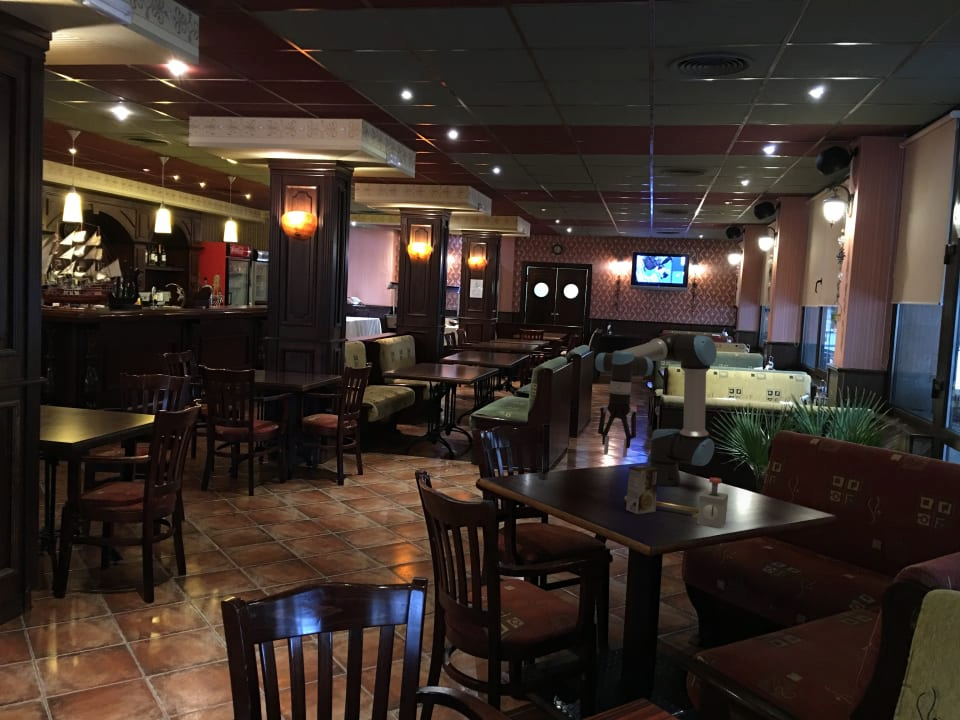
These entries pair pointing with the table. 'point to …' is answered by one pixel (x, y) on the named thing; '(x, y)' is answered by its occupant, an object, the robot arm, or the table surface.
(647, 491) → the coffee box
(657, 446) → the robot arm
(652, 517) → the table surface
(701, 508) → the cabinet
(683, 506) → the rail
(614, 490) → the table surface
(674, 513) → the table surface
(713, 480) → the plunger
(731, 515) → the table surface
